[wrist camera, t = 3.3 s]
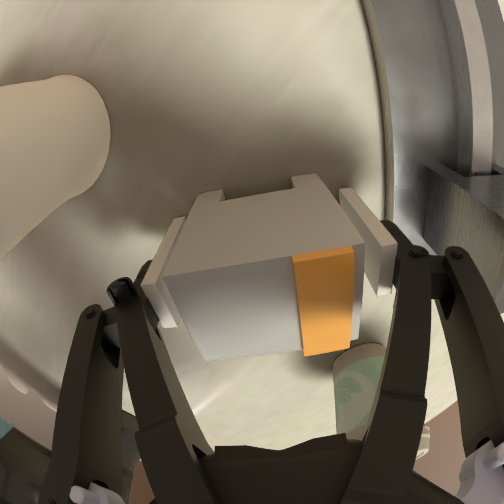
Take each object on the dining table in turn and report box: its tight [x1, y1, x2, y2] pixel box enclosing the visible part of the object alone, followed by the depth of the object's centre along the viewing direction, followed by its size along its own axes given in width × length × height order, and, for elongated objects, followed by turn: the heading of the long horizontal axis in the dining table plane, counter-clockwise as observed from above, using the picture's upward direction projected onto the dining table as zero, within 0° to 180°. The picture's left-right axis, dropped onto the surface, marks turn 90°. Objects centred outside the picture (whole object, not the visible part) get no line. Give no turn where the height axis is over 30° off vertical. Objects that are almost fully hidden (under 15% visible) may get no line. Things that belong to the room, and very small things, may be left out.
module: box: [162, 173, 365, 361], centre depth 14 cm, size 5×7×8 cm
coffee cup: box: [332, 343, 430, 459], centre depth 20 cm, size 8×8×12 cm
